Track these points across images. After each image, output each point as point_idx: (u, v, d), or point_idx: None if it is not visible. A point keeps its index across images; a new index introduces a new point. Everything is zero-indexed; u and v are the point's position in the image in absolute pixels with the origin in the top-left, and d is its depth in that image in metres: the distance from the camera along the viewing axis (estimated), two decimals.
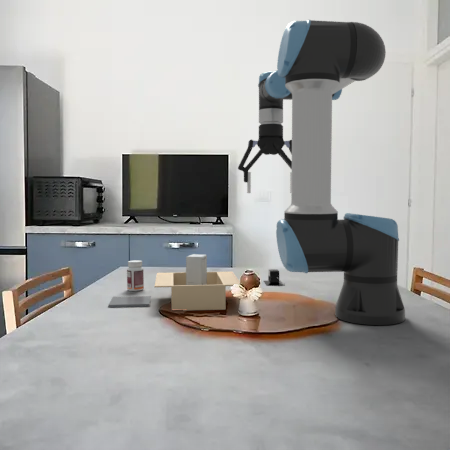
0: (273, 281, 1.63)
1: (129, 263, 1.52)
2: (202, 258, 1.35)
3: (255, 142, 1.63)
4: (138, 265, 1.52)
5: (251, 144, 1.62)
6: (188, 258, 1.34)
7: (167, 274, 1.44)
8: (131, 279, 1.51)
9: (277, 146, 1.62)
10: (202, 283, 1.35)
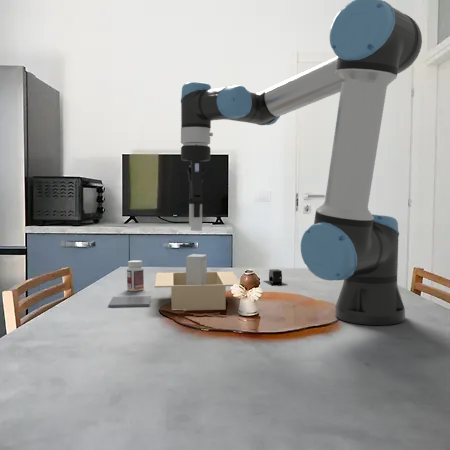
0: (276, 281, 1.63)
1: (129, 263, 1.52)
2: (202, 258, 1.35)
3: None
4: (138, 265, 1.52)
5: None
6: (188, 258, 1.34)
7: (167, 274, 1.44)
8: (131, 279, 1.51)
9: (188, 172, 1.34)
10: (202, 283, 1.35)
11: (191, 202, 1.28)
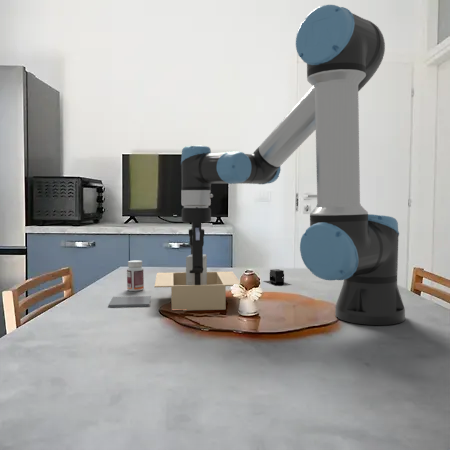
0: (278, 281, 1.63)
1: (129, 263, 1.52)
2: None
3: None
4: (138, 265, 1.52)
5: None
6: (188, 258, 1.34)
7: (167, 274, 1.44)
8: (131, 279, 1.51)
9: (189, 234, 1.35)
10: None
11: (192, 272, 1.32)
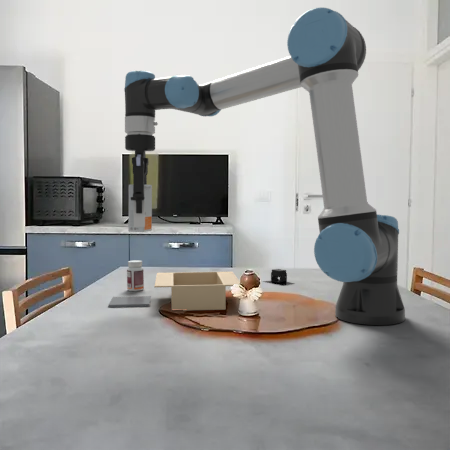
0: (282, 280, 1.64)
1: (129, 263, 1.52)
2: (145, 186, 1.32)
3: None
4: (138, 265, 1.52)
5: None
6: (130, 186, 1.32)
7: (167, 274, 1.44)
8: (131, 279, 1.51)
9: (132, 162, 1.33)
10: (145, 212, 1.33)
11: (133, 199, 1.30)
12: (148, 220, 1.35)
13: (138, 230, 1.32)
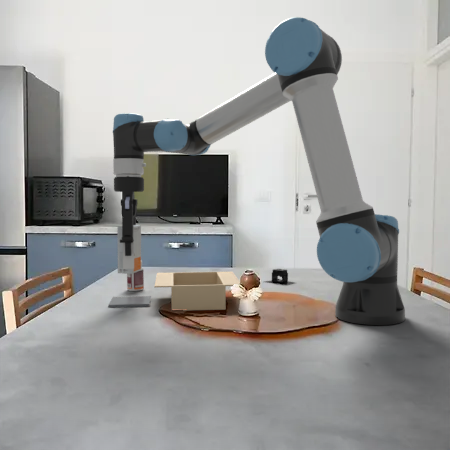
0: (284, 280, 1.65)
1: None
2: (134, 228, 1.32)
3: None
4: None
5: None
6: (119, 228, 1.32)
7: (167, 274, 1.44)
8: (131, 279, 1.51)
9: (121, 204, 1.33)
10: (134, 253, 1.33)
11: (122, 242, 1.30)
12: (137, 261, 1.35)
13: (127, 272, 1.32)
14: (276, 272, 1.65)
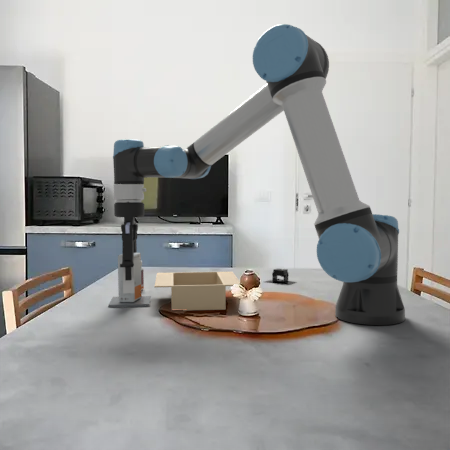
0: (285, 280, 1.65)
1: None
2: (134, 256, 1.33)
3: None
4: None
5: None
6: (120, 256, 1.33)
7: (167, 274, 1.44)
8: None
9: (121, 229, 1.33)
10: (135, 281, 1.33)
11: (122, 266, 1.29)
12: (138, 289, 1.36)
13: (128, 300, 1.33)
14: (277, 272, 1.65)
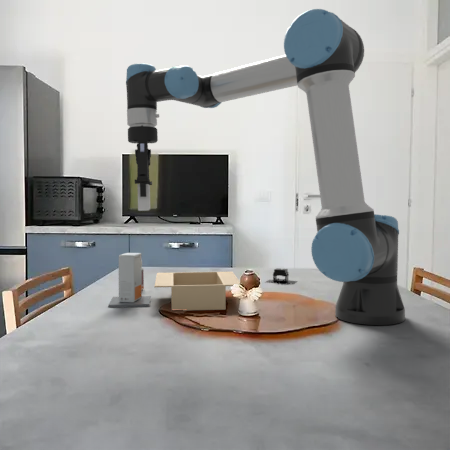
0: (286, 279, 1.66)
1: None
2: (135, 256, 1.33)
3: None
4: None
5: None
6: (120, 256, 1.33)
7: (167, 274, 1.44)
8: None
9: (135, 153, 1.34)
10: (135, 282, 1.33)
11: (137, 182, 1.28)
12: (138, 289, 1.36)
13: (128, 300, 1.33)
14: (278, 272, 1.66)
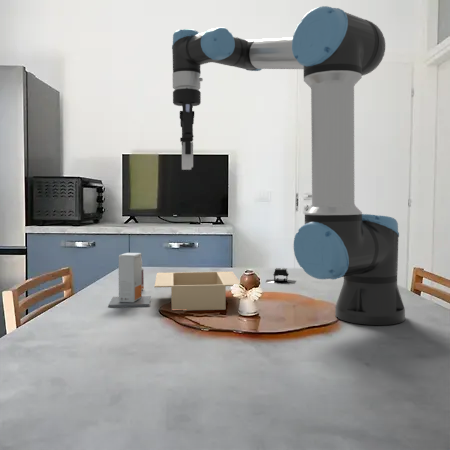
0: (287, 279, 1.67)
1: None
2: (135, 256, 1.33)
3: None
4: None
5: None
6: (120, 256, 1.33)
7: (167, 274, 1.44)
8: None
9: (180, 114, 1.42)
10: (135, 282, 1.33)
11: (182, 140, 1.36)
12: (138, 289, 1.36)
13: (128, 300, 1.33)
14: (279, 272, 1.66)
